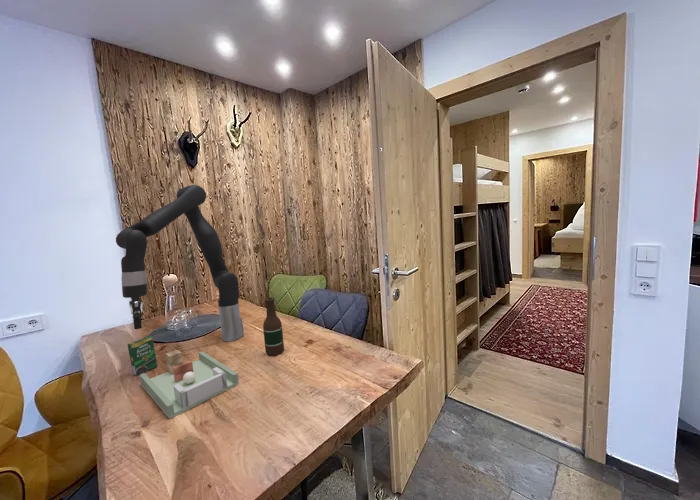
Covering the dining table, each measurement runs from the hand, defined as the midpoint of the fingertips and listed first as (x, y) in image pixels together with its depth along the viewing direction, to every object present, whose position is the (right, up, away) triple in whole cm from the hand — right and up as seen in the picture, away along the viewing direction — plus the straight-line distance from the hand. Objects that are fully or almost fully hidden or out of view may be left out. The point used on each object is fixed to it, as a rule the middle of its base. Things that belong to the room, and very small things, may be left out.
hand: (137, 326), depth 110 cm
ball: (+23, -17, -6) cm, 29 cm away
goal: (+31, -20, -13) cm, 39 cm away
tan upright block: (+15, -18, +1) cm, 24 cm away
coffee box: (-2, -20, +7) cm, 21 cm away
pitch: (+22, -20, -5) cm, 30 cm away
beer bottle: (+48, -16, +16) cm, 53 cm away
